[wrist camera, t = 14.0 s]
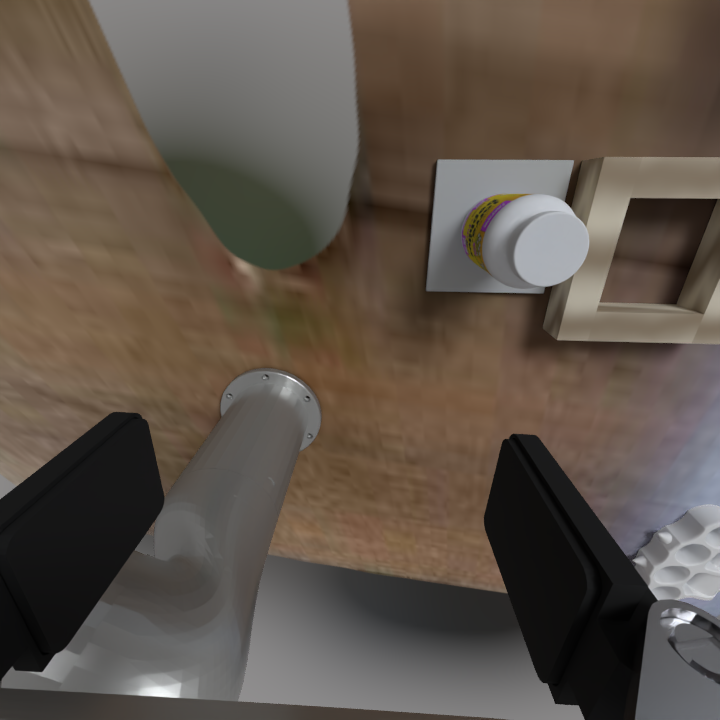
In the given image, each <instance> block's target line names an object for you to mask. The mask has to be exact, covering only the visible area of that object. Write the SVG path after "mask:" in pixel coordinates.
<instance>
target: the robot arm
mask: <svg viewBox="0 0 720 720" xmlns="http://www.w3.org/2000/svg"><path fill="white" fill-rule="evenodd" d="M267 375H268V376H267ZM308 396H309V397H308ZM220 412H221V417H222V418H221V419H220V420H219V422H218V423H217V425H216V426H215V427H214V429H213V430H212V432H211V433H210V434H209V436H208V437H207V439H206V440H205V441H204V443H203V444H202V446H201V447H200V448H199V450H198V451H197V453H196V454H195V455H194V457H193V458H192V460H191V461H190V462H189V464H188V465H187V467H186V468H185V469H184V471H183V472H182V474H181V475H180V476H179V478H178V479H177V481H176V482H175V483H174V485H173V486H172V488H171V489H170V490H169V492H168V493H167V495H166V497H165V498H164V493H163V489H162V484H161V480H160V475H159V471H158V466H157V462H156V457H155V453H154V448H153V444H152V439H151V434H150V430H149V425H148V422H147V421H146V420H145V419H142V417H141V415H140V414H138V413H125V412H113V413H111V414H109V415H108V416H107V417H105V418H104V419H103V420H102V421H100V422H99V423H98V424H96V425H95V426H94V427H93V428H91V429H90V430H89V431H87V432H86V433H85V434H84V435H82V436H81V437H80V438H79V439H77V440H76V441H75V442H73V443H72V444H71V445H70V446H68V447H67V448H66V449H64V450H63V451H62V452H61V453H59V454H58V455H57V456H55V457H54V458H53V459H52V460H50V461H49V462H48V463H46V464H45V465H44V466H43V467H41V468H40V469H39V470H37V471H36V472H35V473H34V474H32V475H31V476H30V477H28V478H27V479H26V480H25V481H23V482H22V483H21V484H19V485H18V486H17V487H16V488H14V489H13V490H12V491H10V492H9V493H8V494H7V495H5V496H4V497H3V498H1V499H0V720H505V719H494V718H481V717H465V716H452V715H437V714H421V713H408V712H393V711H378V710H363V709H348V708H334V707H318V706H302V705H286V704H270V703H254V702H238V699H239V695H240V692H241V688H242V684H243V681H244V675H245V670H246V665H247V660H248V653H249V646H250V638H251V631H252V624H253V617H254V610H255V604H256V599H257V594H258V589H259V583H260V580H261V576H262V572H263V568H264V564H265V560H266V557H267V553H268V550H269V547H270V543H271V540H272V537H273V534H274V530H275V527H276V524H277V521H278V517H279V514H280V511H281V508H282V505H283V502H284V498H285V495H286V492H287V489H288V486H289V483H290V479H291V476H292V473H293V470H294V467H295V464H296V460H297V457H298V454H299V451H302V450H303V449H305V448H306V447H308V446H309V445H310V444H311V443H312V442H313V441H314V439H315V437H316V436H317V434H318V431H319V428H320V424H321V419H322V416H321V408H320V404H319V401H318V399H317V397H316V395H315V394H314V392H313V391H312V390H311V389H310V387H309V386H308V385H307V384H305V383H304V382H303V381H302V380H301V379H299V378H297V377H296V376H294V375H292V374H290V373H287V372H285V371H282V370H277V369H271V368H260V369H253V370H250V371H247V372H245V373H243V374H241V375H239V376H238V377H236V378H235V379H234V380H233V381H232V382H231V383H230V384H229V386H228V387H227V388H226V390H225V391H224V393H223V396H222V399H221V404H220ZM155 520H156V522H155V528H154V556H155V557H152V556H150V555H144V554H142V553H140V552H137V551H135V548H136V547H137V545H138V544H139V543H140V541H141V540H142V538H143V537H144V535H145V534H146V533H147V531H148V530H149V528H150V527H151V525H152V524H153V523H154V521H155ZM484 526H485V530H486V533H487V536H488V539H489V542H490V545H491V547H492V550H493V553H494V556H495V559H496V561H497V564H498V567H499V570H500V573H501V575H502V578H503V581H504V584H505V587H506V589H507V592H508V595H509V597H510V600H511V603H512V606H513V609H514V612H515V614H516V617H517V620H518V623H519V626H520V628H521V631H522V634H523V637H524V640H525V642H526V645H527V648H528V651H529V653H530V656H531V659H532V662H533V665H534V668H535V670H536V673H537V675H538V677H539V679H540V680H541V681H542V682H543V683H548V685H549V688H550V691H551V694H552V696H553V699H554V701H555V704H565V705H579V707H580V709H581V712H582V714H583V716H584V719H585V720H720V620H718V619H717V618H715V617H714V616H712V615H710V614H709V613H707V612H706V611H704V610H702V609H700V608H697V607H695V606H693V605H691V604H688V603H685V602H681V601H677V600H673V599H666V600H659V601H658V600H657V598H656V597H655V596H654V594H653V593H652V592H651V590H650V589H649V588H648V585H647V584H646V582H645V581H644V580H643V578H642V577H641V576H640V574H639V573H638V572H637V570H636V569H635V567H634V566H633V565H632V563H631V562H630V561H629V559H628V558H627V557H626V555H625V554H624V553H623V551H622V550H621V549H620V547H619V546H618V544H617V543H616V542H615V540H614V539H613V538H612V536H611V535H610V534H609V532H608V531H607V530H606V528H605V527H604V526H603V524H602V523H601V521H600V520H599V519H598V517H597V516H596V515H595V513H594V512H593V511H592V509H591V508H590V507H589V505H588V504H587V503H586V501H585V500H584V498H583V497H582V496H581V494H580V493H579V492H578V490H577V489H576V488H575V486H574V485H573V484H572V482H571V481H570V479H569V478H568V477H567V475H566V474H565V473H564V471H563V470H562V469H561V467H560V466H559V465H558V463H557V462H556V461H555V459H554V458H553V456H552V455H551V454H550V452H549V451H548V450H547V448H546V447H545V446H544V444H543V443H542V442H541V440H540V439H539V438H538V437H537V436H536V435H525V434H512V435H511V436H510V437H509V439H504V440H503V442H502V446H501V450H500V454H499V458H498V462H497V466H496V470H495V474H494V478H493V482H492V487H491V491H490V495H489V499H488V503H487V507H486V511H485V515H484Z"/></svg>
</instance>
